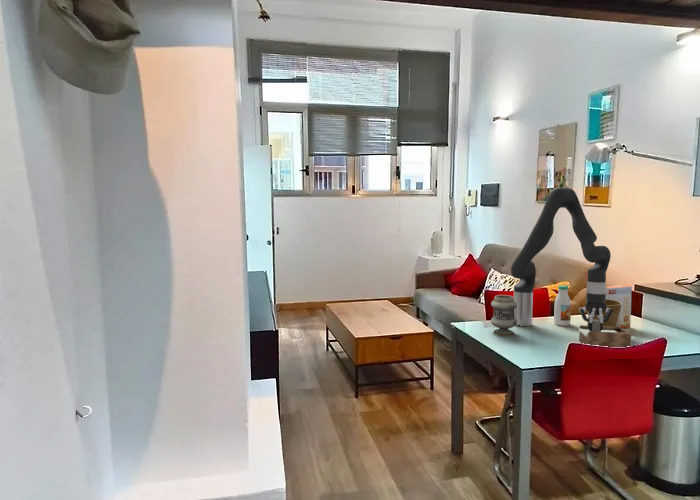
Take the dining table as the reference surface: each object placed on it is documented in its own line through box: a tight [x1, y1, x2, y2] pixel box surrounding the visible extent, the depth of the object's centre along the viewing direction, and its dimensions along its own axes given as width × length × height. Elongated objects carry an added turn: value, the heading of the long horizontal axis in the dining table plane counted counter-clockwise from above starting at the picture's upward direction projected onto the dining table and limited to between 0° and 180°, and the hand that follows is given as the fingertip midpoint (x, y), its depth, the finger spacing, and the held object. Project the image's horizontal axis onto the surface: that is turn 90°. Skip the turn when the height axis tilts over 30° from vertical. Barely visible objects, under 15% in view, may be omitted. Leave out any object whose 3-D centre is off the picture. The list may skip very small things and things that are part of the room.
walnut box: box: [578, 324, 632, 347], centre depth 207 cm, size 17×13×7 cm
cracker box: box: [606, 284, 633, 329], centre depth 237 cm, size 14×6×21 cm, turn 106°
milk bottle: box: [553, 284, 572, 327], centre depth 244 cm, size 8×8×20 cm
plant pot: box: [586, 299, 622, 326], centre depth 223 cm, size 15×15×16 cm
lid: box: [578, 320, 616, 337], centre depth 207 cm, size 14×10×6 cm
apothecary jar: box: [490, 294, 518, 337], centre depth 228 cm, size 12×12×18 cm
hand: (595, 330), depth 207 cm, fingers closed on lid, 3 cm apart
